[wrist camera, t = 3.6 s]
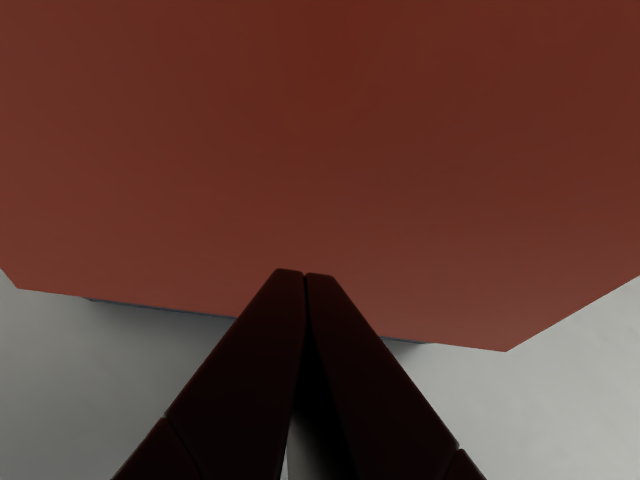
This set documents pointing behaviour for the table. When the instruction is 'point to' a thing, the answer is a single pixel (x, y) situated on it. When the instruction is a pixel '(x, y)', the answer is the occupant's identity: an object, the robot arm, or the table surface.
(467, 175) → the lid
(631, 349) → the table surface
